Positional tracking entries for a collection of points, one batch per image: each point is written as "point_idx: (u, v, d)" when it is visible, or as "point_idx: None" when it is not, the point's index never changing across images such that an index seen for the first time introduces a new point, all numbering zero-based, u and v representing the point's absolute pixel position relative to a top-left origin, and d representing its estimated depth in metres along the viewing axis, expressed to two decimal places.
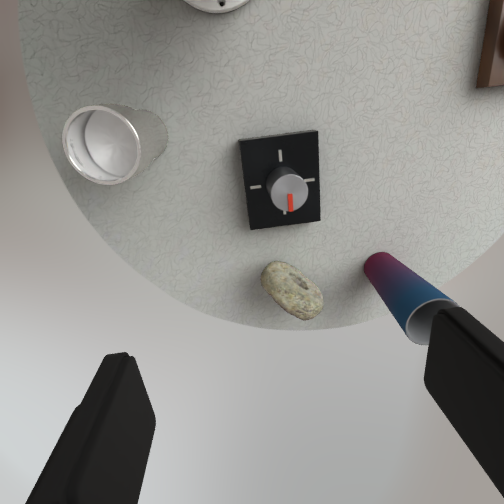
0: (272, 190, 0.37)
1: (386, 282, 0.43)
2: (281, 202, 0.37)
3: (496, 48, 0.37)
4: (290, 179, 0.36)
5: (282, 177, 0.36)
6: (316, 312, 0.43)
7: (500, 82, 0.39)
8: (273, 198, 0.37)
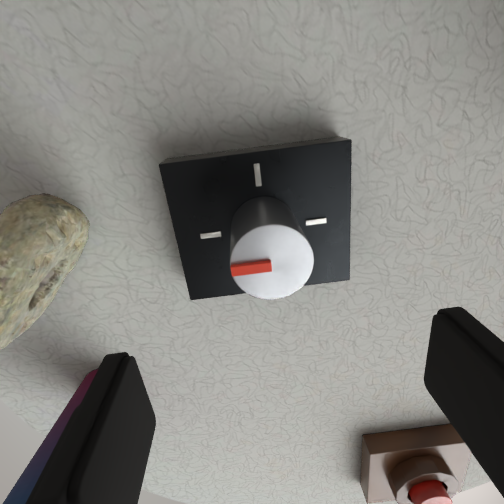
0: (280, 227, 0.16)
1: None
2: (251, 248, 0.16)
3: (408, 450, 0.33)
4: (302, 263, 0.16)
5: (308, 247, 0.16)
6: None
7: (372, 463, 0.33)
8: (260, 231, 0.16)
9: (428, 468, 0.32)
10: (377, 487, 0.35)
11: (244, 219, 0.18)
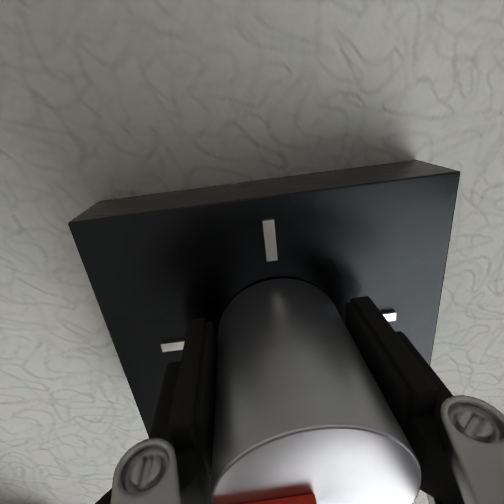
0: (346, 431, 0.06)
1: None
2: (266, 475, 0.06)
3: None
4: (392, 494, 0.07)
5: (412, 464, 0.06)
6: None
7: None
8: (291, 441, 0.06)
9: None
10: None
11: (244, 359, 0.08)
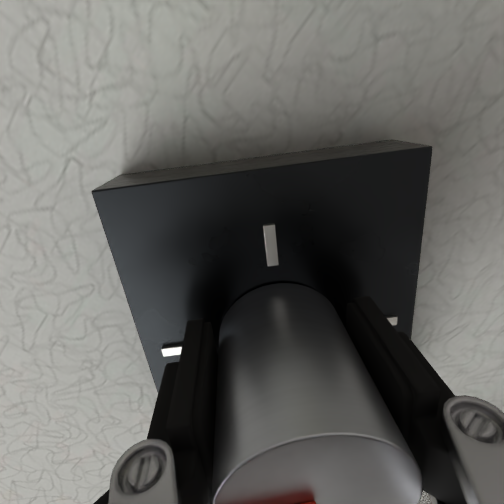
0: (343, 439, 0.06)
1: None
2: (264, 484, 0.06)
3: None
4: (394, 500, 0.07)
5: (413, 470, 0.06)
6: None
7: None
8: (289, 452, 0.06)
9: None
10: None
11: (243, 367, 0.08)
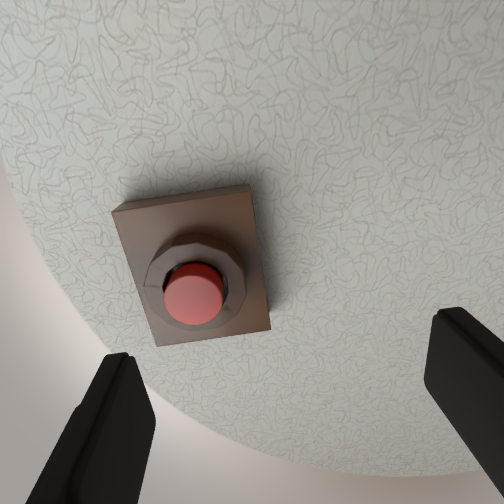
0: None
1: None
2: None
3: (256, 249, 0.21)
4: None
5: None
6: None
7: (228, 199, 0.20)
8: None
9: (245, 279, 0.21)
10: (161, 220, 0.20)
11: None
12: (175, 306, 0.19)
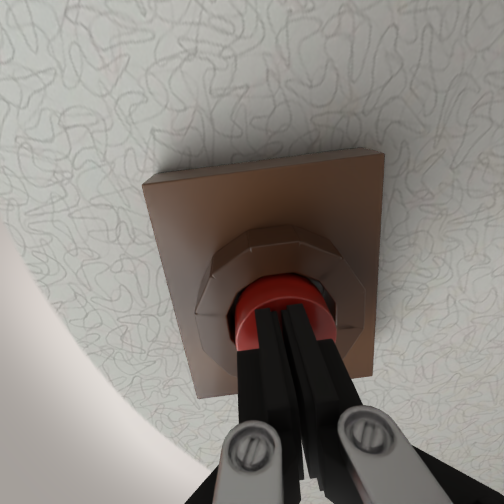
0: None
1: None
2: None
3: (375, 253, 0.13)
4: None
5: None
6: None
7: (346, 167, 0.12)
8: None
9: None
10: (227, 202, 0.12)
11: None
12: None
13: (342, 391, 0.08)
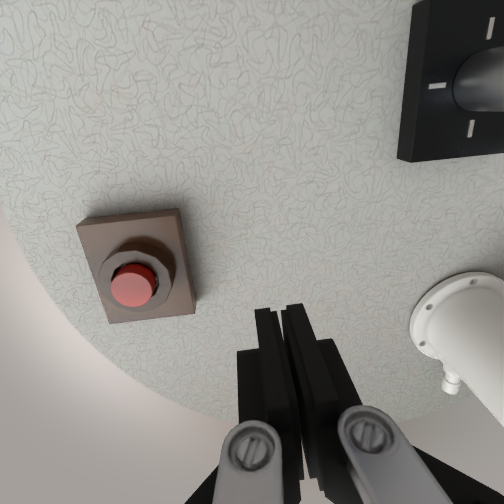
0: None
1: None
2: None
3: (181, 255, 0.30)
4: None
5: None
6: None
7: (160, 220, 0.29)
8: None
9: (171, 276, 0.30)
10: (112, 233, 0.29)
11: (501, 50, 0.22)
12: (119, 293, 0.28)
13: (342, 391, 0.08)
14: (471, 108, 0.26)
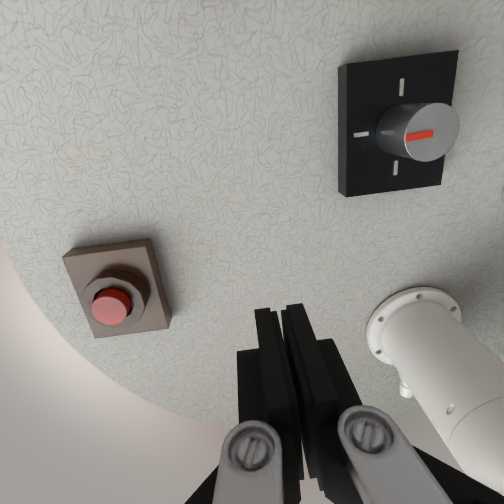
0: (441, 104, 0.24)
1: None
2: (420, 121, 0.25)
3: (153, 279, 0.35)
4: (451, 132, 0.25)
5: (456, 119, 0.25)
6: None
7: (132, 250, 0.34)
8: (428, 108, 0.24)
9: (144, 297, 0.35)
10: (93, 262, 0.34)
11: (403, 110, 0.26)
12: (98, 314, 0.33)
13: (342, 391, 0.08)
14: (391, 153, 0.30)
